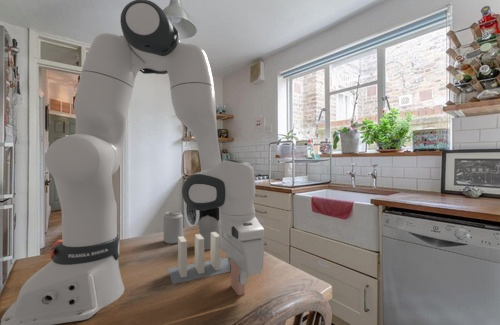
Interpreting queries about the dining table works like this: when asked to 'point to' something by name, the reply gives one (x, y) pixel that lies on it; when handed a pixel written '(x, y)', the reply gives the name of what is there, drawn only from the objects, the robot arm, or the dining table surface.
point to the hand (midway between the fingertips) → (237, 277)
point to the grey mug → (208, 225)
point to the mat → (194, 274)
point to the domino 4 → (236, 279)
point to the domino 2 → (199, 253)
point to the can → (173, 226)
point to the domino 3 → (215, 251)
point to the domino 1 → (182, 256)
